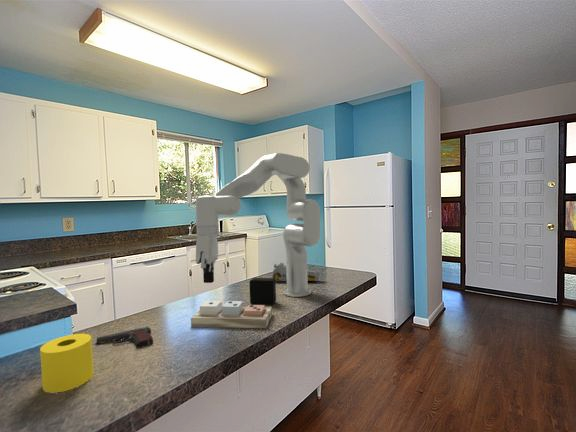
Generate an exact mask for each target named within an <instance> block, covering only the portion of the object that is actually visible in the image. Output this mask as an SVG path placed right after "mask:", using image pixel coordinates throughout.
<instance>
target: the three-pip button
mask: <svg viewBox="0 0 576 432" xmlns="http://www.w3.org/2000/svg"><path fill="white" fill-rule="evenodd" d="M265 307H266V305H258V304H248V307H247V308H246V309H245V311H244V315H245V316H263V315H264V313H265Z"/></svg>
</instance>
